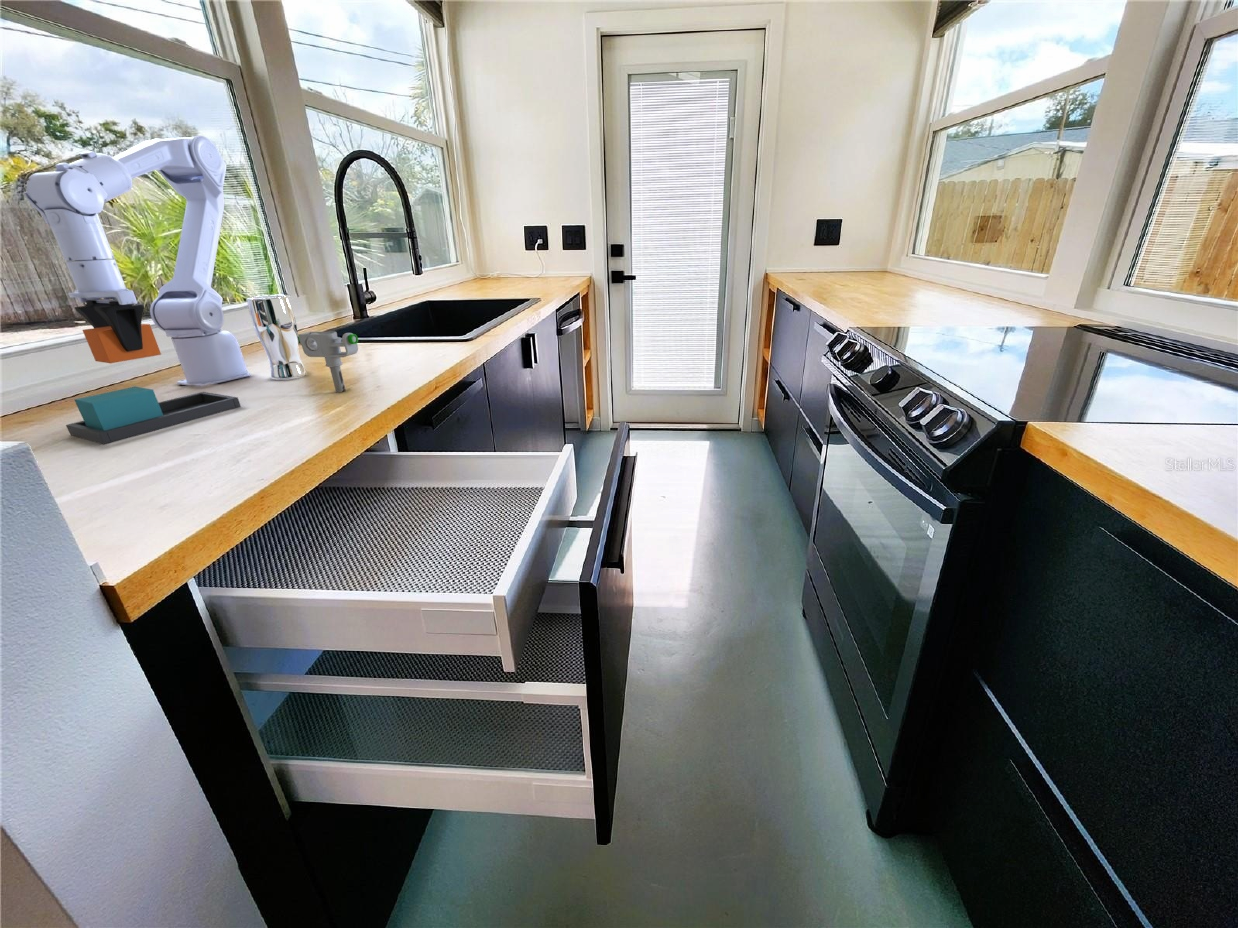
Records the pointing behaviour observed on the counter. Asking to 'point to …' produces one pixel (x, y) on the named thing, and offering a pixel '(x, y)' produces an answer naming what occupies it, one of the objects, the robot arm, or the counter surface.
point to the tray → (160, 417)
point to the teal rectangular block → (118, 408)
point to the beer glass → (277, 335)
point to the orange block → (119, 345)
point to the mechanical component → (330, 351)
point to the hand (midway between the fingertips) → (126, 349)
